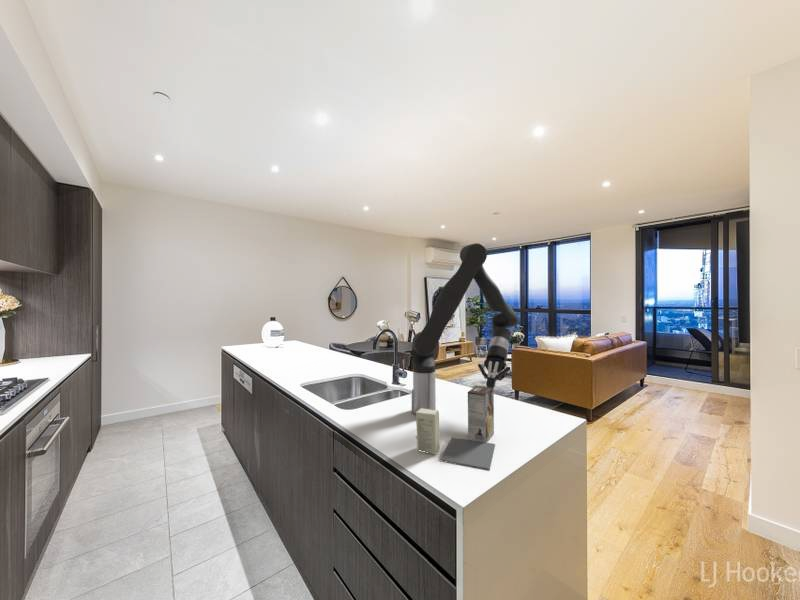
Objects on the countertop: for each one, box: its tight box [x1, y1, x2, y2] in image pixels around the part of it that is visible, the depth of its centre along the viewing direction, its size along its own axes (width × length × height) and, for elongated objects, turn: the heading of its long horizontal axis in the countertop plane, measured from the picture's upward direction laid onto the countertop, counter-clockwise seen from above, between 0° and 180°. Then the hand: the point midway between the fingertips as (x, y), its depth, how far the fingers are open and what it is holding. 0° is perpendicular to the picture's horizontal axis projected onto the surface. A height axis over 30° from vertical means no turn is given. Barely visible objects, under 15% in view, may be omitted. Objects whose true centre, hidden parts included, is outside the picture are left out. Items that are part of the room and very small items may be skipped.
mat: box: [439, 436, 496, 471], centre depth 97 cm, size 14×16×1 cm
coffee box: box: [467, 385, 495, 443], centre depth 108 cm, size 9×6×16 cm
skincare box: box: [415, 408, 441, 455], centre depth 99 cm, size 6×4×12 cm
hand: (489, 388), depth 117 cm, fingers closed
